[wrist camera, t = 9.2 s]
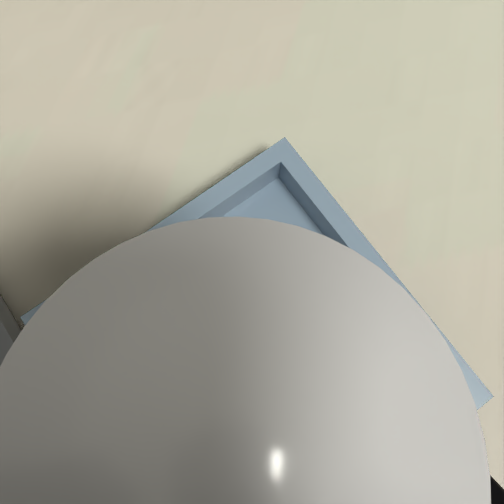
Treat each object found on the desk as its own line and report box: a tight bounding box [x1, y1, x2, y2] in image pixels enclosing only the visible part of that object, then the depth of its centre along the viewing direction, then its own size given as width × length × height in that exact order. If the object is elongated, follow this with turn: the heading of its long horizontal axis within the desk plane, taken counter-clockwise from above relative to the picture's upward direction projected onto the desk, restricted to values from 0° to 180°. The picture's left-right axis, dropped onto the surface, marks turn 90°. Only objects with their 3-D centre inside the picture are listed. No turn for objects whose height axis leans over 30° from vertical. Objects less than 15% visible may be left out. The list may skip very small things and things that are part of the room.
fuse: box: [0, 217, 491, 504], centre depth 9 cm, size 4×4×12 cm
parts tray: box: [20, 137, 494, 410], centre depth 16 cm, size 13×13×2 cm
